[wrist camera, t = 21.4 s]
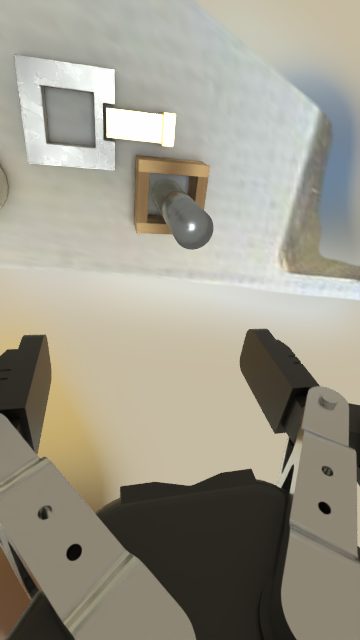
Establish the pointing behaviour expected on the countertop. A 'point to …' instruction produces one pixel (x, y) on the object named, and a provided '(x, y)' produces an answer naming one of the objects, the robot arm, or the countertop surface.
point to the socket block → (34, 114)
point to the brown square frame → (165, 166)
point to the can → (3, 188)
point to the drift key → (140, 126)
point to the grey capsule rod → (182, 215)
